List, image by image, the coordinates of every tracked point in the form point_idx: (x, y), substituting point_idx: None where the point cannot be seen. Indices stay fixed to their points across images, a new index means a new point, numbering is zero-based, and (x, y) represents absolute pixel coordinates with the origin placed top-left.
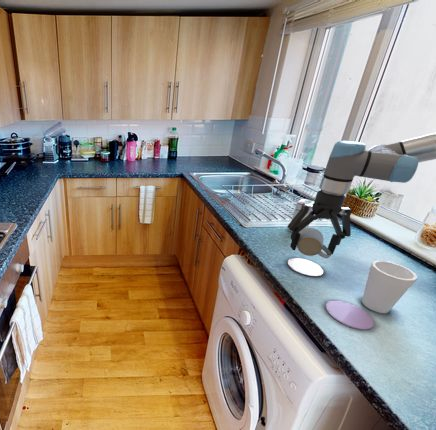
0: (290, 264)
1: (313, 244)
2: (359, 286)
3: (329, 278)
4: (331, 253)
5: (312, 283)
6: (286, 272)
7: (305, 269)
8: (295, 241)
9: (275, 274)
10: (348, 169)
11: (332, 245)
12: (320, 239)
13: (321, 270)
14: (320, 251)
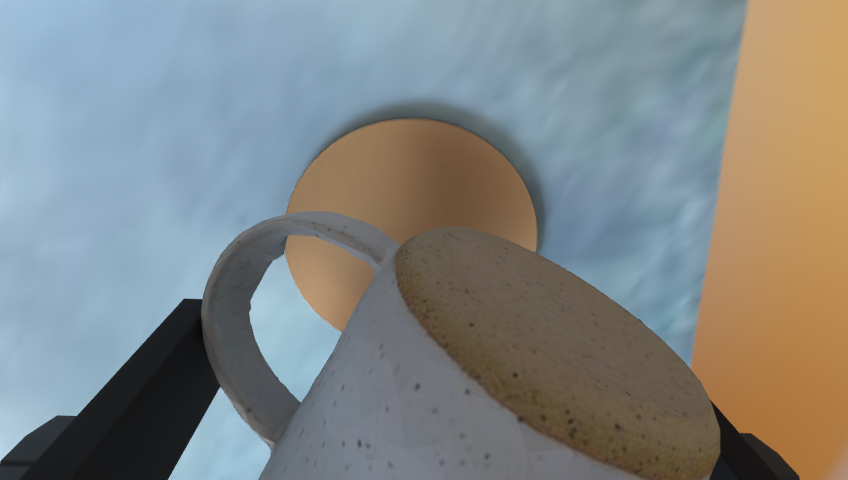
0: None
1: (556, 333)
2: (40, 21)
3: (271, 113)
4: (197, 307)
5: (461, 5)
6: (604, 149)
7: (430, 206)
8: (720, 416)
9: (719, 104)
10: None
11: (153, 408)
12: (402, 473)
13: (300, 211)
14: (389, 259)
